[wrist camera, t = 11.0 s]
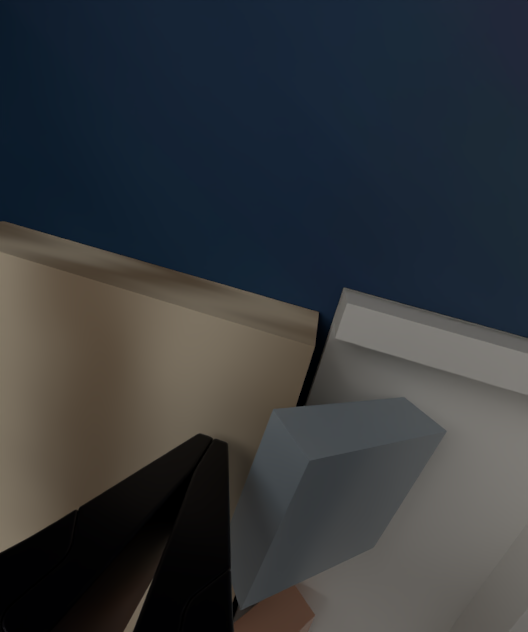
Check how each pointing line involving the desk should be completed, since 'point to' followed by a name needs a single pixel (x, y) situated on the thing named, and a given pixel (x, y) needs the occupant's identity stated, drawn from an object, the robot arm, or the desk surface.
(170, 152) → the desk surface
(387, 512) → the slate grey block
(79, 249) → the birch plate
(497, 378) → the tray
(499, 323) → the desk surface
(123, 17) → the desk surface
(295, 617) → the terracotta tile
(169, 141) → the desk surface
